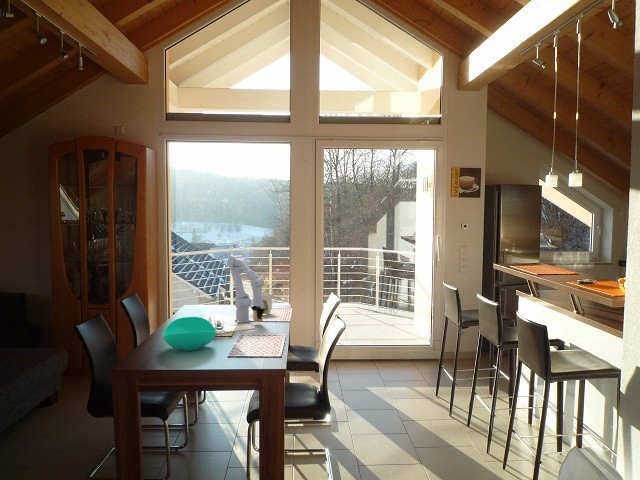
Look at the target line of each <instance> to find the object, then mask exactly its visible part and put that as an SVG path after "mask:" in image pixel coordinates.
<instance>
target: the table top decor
mask: <svg viewBox="0 0 640 480" xmlns="http://www.w3.org/2000/svg"><path fill="white" fill-rule="evenodd" d="M216 335H217V330H216V328H215V327H214V325H213V324H212V323H211V322H210V321H209V320H208V319H206V318H203V317H200V316H187V317H186V316H185V317H179V318H177V319H174V320H173V321H171V322H170V323H169V324H168V325H167V326H166V327H165V330H164V331H163V333H162V338H163V341H164V343H166V344H167V345H168V346H169V347H171V348H175V349H177V350H180V351H186V352H191V351H196V350H198V349H200V348H203V347H205V346H207V345H208V344H210V343H211V342H212V341H213V340H214V339H215V338H216Z"/></svg>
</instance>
